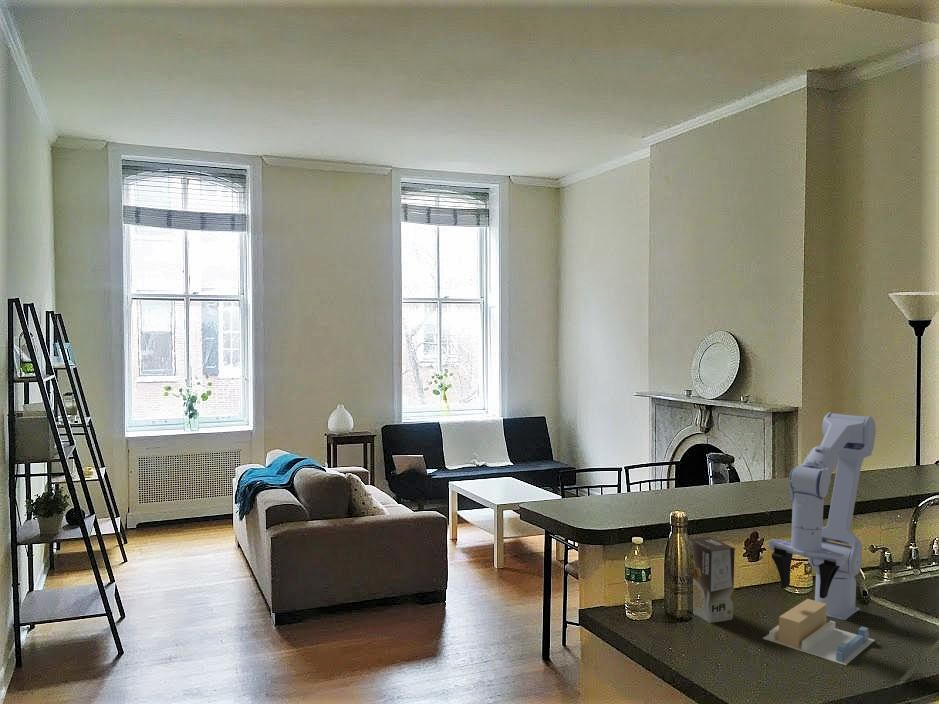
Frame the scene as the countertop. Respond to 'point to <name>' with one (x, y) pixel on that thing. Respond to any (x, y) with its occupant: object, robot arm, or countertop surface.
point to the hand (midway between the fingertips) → (804, 591)
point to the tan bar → (801, 622)
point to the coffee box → (712, 579)
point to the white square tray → (830, 643)
